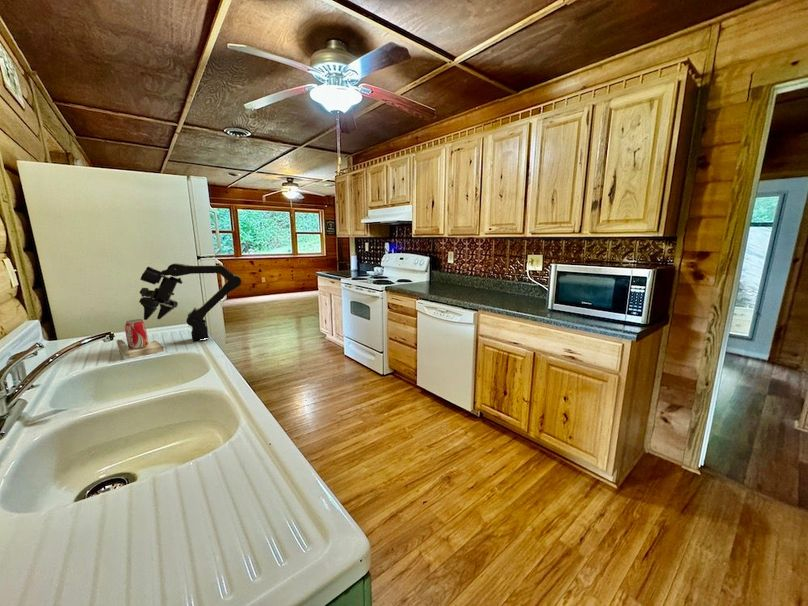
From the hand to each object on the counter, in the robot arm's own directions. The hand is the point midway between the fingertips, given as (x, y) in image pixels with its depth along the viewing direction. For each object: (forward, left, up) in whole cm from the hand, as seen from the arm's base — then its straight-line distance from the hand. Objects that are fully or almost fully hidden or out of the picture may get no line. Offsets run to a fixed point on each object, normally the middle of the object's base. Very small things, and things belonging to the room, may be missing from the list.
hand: (151, 319), depth 152 cm
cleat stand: (+3, +8, -13) cm, 15 cm away
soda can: (+5, +9, -10) cm, 14 cm away
